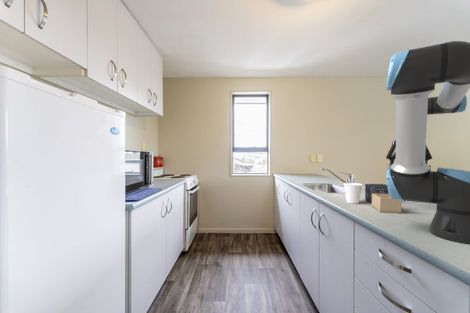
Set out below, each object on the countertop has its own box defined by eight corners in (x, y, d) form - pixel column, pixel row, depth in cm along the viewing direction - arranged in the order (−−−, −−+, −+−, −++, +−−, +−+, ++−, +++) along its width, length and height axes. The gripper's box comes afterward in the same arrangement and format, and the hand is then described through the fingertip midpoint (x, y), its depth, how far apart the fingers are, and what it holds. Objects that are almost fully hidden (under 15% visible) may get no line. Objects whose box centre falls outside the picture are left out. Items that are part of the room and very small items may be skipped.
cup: (366, 204, 127) (366, 184, 127) (351, 205, 124) (352, 185, 124) (353, 200, 137) (353, 182, 136) (339, 201, 134) (339, 183, 134)
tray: (401, 213, 108) (401, 198, 108) (380, 212, 110) (380, 197, 110) (390, 207, 120) (391, 194, 120) (371, 206, 122) (371, 193, 122)
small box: (383, 201, 136) (383, 183, 136) (389, 203, 129) (389, 185, 129) (364, 200, 137) (364, 183, 137) (369, 203, 130) (370, 184, 130)
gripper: (432, 130, 115) (431, 173, 115) (378, 131, 120) (378, 172, 120) (442, 129, 108) (441, 174, 108) (385, 130, 113) (384, 173, 113)
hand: (408, 173), depth 114 cm, fingers closed on lid, 12 cm apart
